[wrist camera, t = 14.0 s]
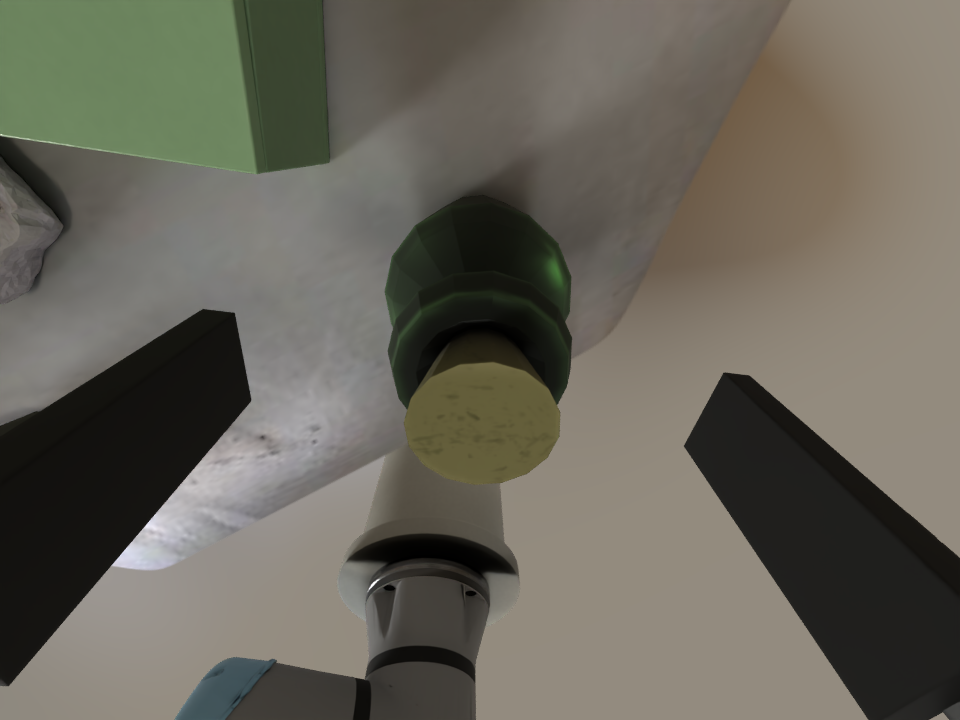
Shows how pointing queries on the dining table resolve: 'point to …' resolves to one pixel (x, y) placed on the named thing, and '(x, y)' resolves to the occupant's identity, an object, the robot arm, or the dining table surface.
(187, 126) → the chest lid
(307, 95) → the chest
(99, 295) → the dining table surface
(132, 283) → the dining table surface
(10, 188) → the stone block
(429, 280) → the potion bottle
